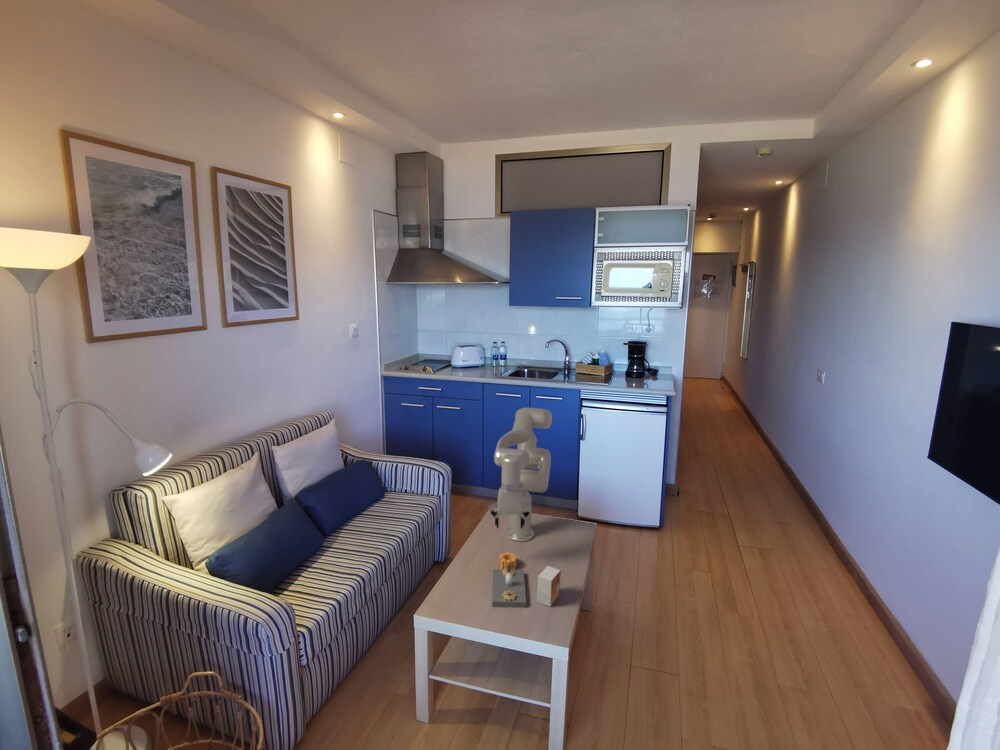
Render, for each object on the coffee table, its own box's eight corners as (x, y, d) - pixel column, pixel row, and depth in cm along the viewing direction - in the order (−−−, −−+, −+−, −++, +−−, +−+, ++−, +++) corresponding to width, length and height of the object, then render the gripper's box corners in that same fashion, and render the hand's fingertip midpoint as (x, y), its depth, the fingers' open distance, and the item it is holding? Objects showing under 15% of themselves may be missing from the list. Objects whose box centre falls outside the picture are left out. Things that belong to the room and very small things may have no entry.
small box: (550, 607, 175) (551, 581, 173) (536, 602, 178) (537, 575, 176) (560, 595, 181) (561, 570, 179) (546, 590, 184) (547, 565, 182)
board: (493, 573, 194) (493, 559, 193) (523, 574, 194) (523, 560, 193) (492, 606, 175) (492, 591, 173) (525, 607, 175) (526, 592, 173)
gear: (498, 560, 203) (499, 551, 202) (516, 561, 203) (516, 552, 202) (498, 571, 196) (499, 562, 195) (517, 571, 196) (517, 562, 195)
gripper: (532, 482, 197) (530, 522, 200) (488, 482, 196) (488, 522, 199) (533, 490, 189) (531, 531, 192) (488, 489, 189) (487, 530, 192)
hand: (509, 526), depth 196 cm, fingers open, 9 cm apart
